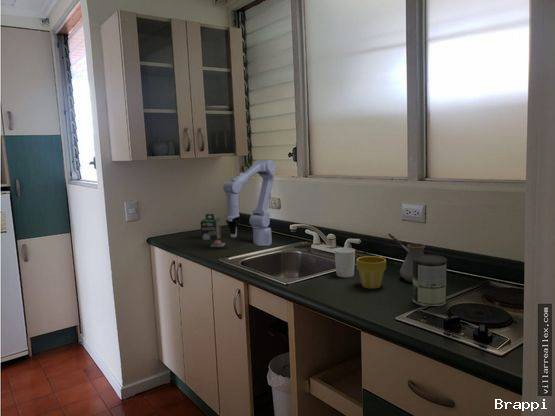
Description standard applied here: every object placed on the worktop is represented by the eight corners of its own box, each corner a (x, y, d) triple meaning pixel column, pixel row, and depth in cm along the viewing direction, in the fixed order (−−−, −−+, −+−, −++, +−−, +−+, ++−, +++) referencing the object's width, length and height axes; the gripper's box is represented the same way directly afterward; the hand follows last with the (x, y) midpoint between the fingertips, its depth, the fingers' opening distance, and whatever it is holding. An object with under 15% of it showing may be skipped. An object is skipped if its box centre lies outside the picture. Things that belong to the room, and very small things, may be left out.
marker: (237, 236, 217) (237, 222, 216) (236, 237, 214) (235, 223, 213) (231, 236, 217) (231, 222, 216) (229, 237, 214) (229, 223, 213)
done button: (221, 244, 227) (221, 240, 227) (220, 246, 224) (219, 241, 224) (215, 244, 228) (215, 240, 228) (214, 246, 225) (213, 241, 224)
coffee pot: (439, 281, 160) (439, 240, 158) (415, 286, 155) (415, 244, 153) (398, 267, 179) (398, 231, 177) (376, 271, 174) (376, 234, 172)
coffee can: (405, 299, 142) (405, 257, 140) (428, 293, 147) (428, 252, 145) (429, 309, 133) (430, 264, 131) (453, 302, 138) (454, 259, 136)
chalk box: (221, 237, 250) (220, 212, 248) (217, 241, 241) (216, 214, 239) (205, 238, 251) (204, 212, 249) (201, 241, 242) (199, 215, 240)
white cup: (331, 273, 174) (331, 249, 172) (348, 271, 176) (348, 246, 175) (341, 279, 166) (340, 253, 165) (359, 276, 169) (359, 251, 168)
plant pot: (368, 279, 165) (368, 254, 163) (391, 285, 157) (392, 259, 155) (350, 285, 158) (350, 259, 157) (374, 292, 150) (373, 264, 149)
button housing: (225, 246, 229) (224, 243, 229) (222, 248, 223) (222, 245, 223) (213, 246, 230) (213, 243, 229) (210, 248, 224) (210, 245, 224)
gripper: (228, 204, 221) (229, 230, 223) (220, 208, 207) (222, 236, 209) (242, 203, 220) (243, 230, 222) (235, 207, 206) (236, 236, 208)
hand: (234, 233), depth 215 cm, fingers closed on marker, 3 cm apart
